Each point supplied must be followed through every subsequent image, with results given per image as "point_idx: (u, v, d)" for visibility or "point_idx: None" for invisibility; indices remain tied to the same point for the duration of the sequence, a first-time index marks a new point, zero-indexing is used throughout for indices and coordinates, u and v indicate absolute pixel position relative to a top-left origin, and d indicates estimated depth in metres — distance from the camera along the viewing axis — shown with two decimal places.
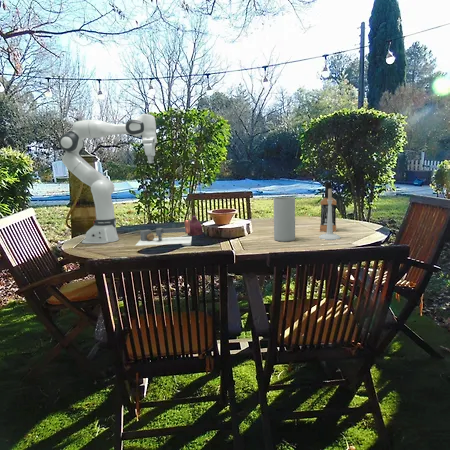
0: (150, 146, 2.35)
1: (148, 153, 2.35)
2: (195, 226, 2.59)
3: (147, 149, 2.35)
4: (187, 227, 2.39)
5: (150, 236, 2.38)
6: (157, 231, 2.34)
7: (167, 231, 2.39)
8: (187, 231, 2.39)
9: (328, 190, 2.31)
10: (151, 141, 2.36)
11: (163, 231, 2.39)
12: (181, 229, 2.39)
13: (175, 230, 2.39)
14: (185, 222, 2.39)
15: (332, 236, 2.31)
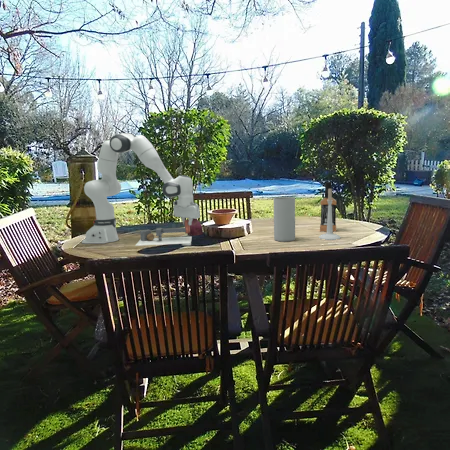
0: None
1: None
2: (195, 226, 2.59)
3: None
4: (187, 227, 2.39)
5: (150, 236, 2.38)
6: (157, 231, 2.34)
7: (167, 231, 2.39)
8: (187, 231, 2.39)
9: (328, 190, 2.31)
10: None
11: (163, 231, 2.39)
12: (181, 229, 2.39)
13: (175, 230, 2.39)
14: (185, 222, 2.39)
15: (332, 236, 2.31)
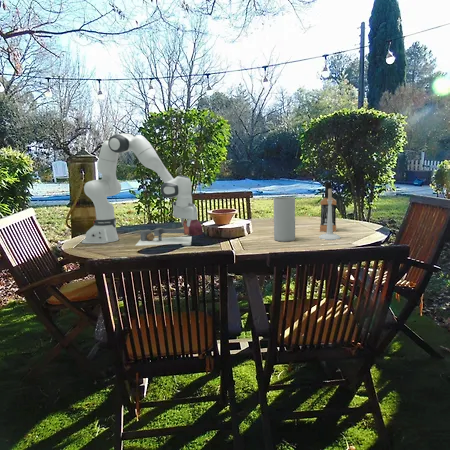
0: None
1: None
2: (195, 226, 2.59)
3: None
4: (185, 228, 2.35)
5: (150, 236, 2.38)
6: (155, 231, 2.35)
7: (166, 231, 2.38)
8: (185, 232, 2.35)
9: (328, 190, 2.31)
10: None
11: (162, 231, 2.38)
12: (180, 230, 2.36)
13: (174, 231, 2.37)
14: (183, 223, 2.35)
15: (332, 236, 2.31)
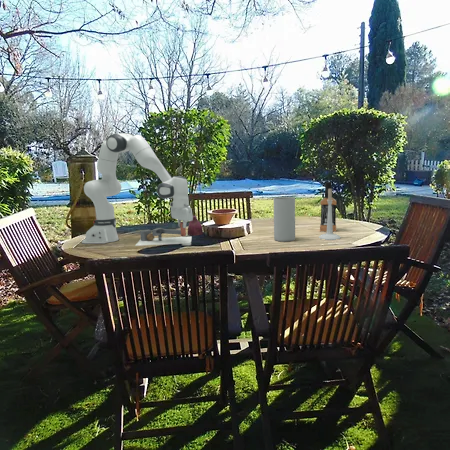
0: None
1: None
2: (195, 226, 2.59)
3: None
4: (182, 229, 2.31)
5: (150, 236, 2.38)
6: (153, 231, 2.35)
7: (165, 232, 2.37)
8: (182, 234, 2.31)
9: (328, 190, 2.31)
10: None
11: (161, 231, 2.38)
12: (177, 231, 2.33)
13: (172, 231, 2.35)
14: (180, 224, 2.31)
15: (332, 236, 2.31)
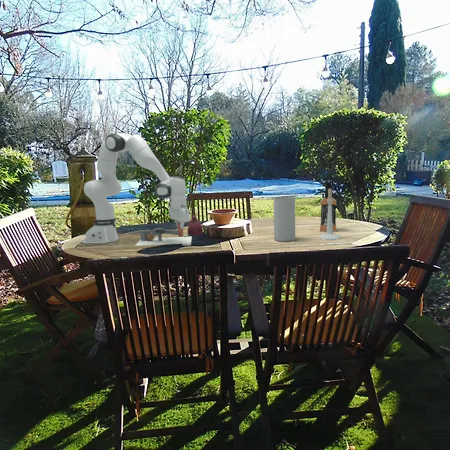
0: None
1: None
2: (195, 226, 2.59)
3: None
4: (179, 230, 2.29)
5: (150, 236, 2.38)
6: (152, 231, 2.36)
7: (164, 232, 2.36)
8: (179, 234, 2.29)
9: (328, 190, 2.31)
10: None
11: (161, 231, 2.38)
12: (174, 231, 2.31)
13: (170, 232, 2.33)
14: None
15: (332, 236, 2.31)
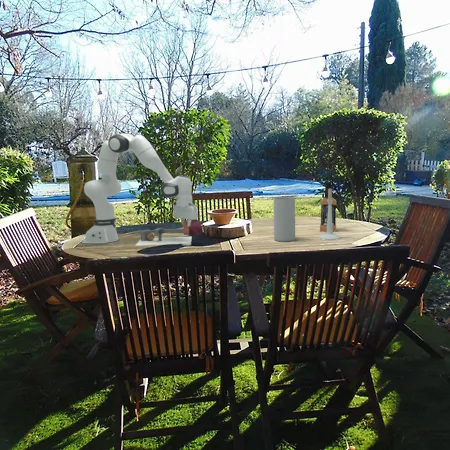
0: None
1: None
2: (195, 226, 2.59)
3: None
4: (185, 228, 2.34)
5: (150, 236, 2.38)
6: (155, 231, 2.35)
7: (166, 231, 2.38)
8: (185, 232, 2.35)
9: (328, 190, 2.31)
10: None
11: (162, 231, 2.38)
12: (179, 230, 2.36)
13: (174, 231, 2.37)
14: (183, 223, 2.34)
15: (332, 236, 2.31)
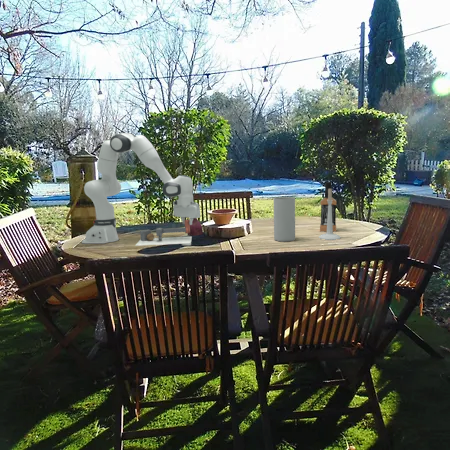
0: None
1: None
2: (195, 226, 2.59)
3: None
4: (187, 227, 2.40)
5: (150, 236, 2.38)
6: (157, 231, 2.34)
7: (167, 231, 2.39)
8: (187, 231, 2.40)
9: (328, 190, 2.31)
10: None
11: (163, 231, 2.39)
12: (181, 229, 2.40)
13: (175, 230, 2.40)
14: (185, 222, 2.39)
15: (332, 236, 2.31)
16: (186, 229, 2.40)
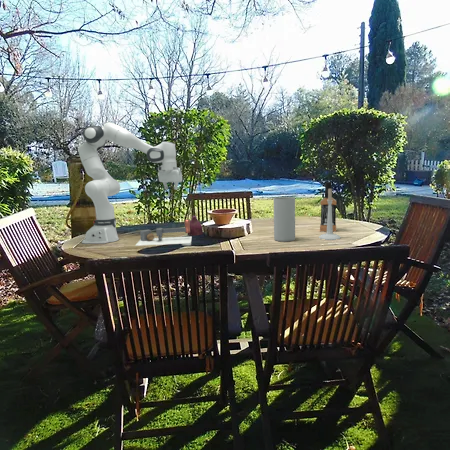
0: None
1: None
2: (195, 226, 2.59)
3: None
4: (187, 227, 2.40)
5: (150, 236, 2.38)
6: (158, 231, 2.34)
7: (167, 231, 2.39)
8: (187, 231, 2.40)
9: (328, 190, 2.31)
10: None
11: (163, 231, 2.39)
12: (181, 229, 2.40)
13: (175, 230, 2.40)
14: (185, 222, 2.40)
15: (332, 236, 2.31)
16: (186, 229, 2.40)
